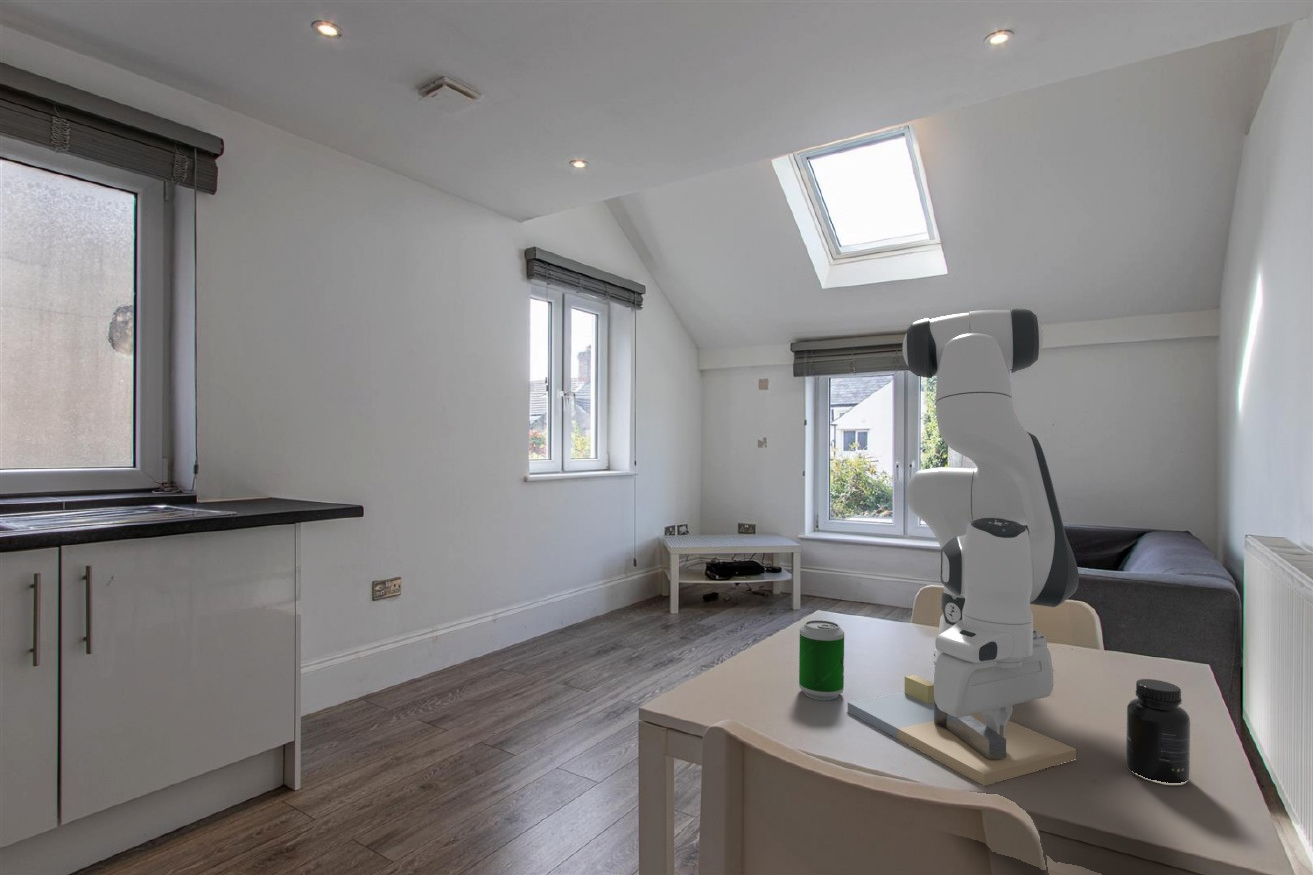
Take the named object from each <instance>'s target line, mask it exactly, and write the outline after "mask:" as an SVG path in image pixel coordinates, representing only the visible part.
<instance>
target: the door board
mask: <svg viewBox="0 0 1313 875" xmlns="http://www.w3.org/2000/svg"><path fill="white" fill-rule="evenodd" d="M847 712H848V713H850V714H851V715H853V716H855V717H856V718H859V719H860V720H862V721H865V722H866V723H868V724H870V725H872V726H874V727H876V728H877V729H879V730H881V731H883V732H885V733H887V734H888V735H890V736H892V737H894V738H895V739H897V740H900V741H901V742H903V743H905V744H906V745H909V746H910V747H912V748H914V749H916V750H918V751H919V752H922V753H923V754H925V755H927V756H929V757H930V758H932V759H934V760H936V761H937V762H939V763H941V764H943V765H945V766H947V767H948V768H951V769H952V770H953V771H956V772H958V773H959V774H962V775H963V776H965V777H966V778H969V779H970V780H973V781H974V780H975V781H974V782H976V783H978V784H980V785H982V786H984V787H986V786H989V784H990V785H992V784H993V785H994V784H996V783H995V782H997V783H1000V782H1003V780H1004V781H1006V780H1007V781H1008V780H1010V779H1014V778H1018V777H1021V776H1026V775H1028V774H1033V773H1035V772H1039V770H1040V771H1043V770H1046V769H1045V768H1047V769H1049V768H1048V767H1050V766H1054V767H1056V766H1055V765H1057V764H1061V763H1064V762H1068V761H1071V760H1074V759H1076V760H1077V748H1074V747H1071V745H1068V744H1064V743H1063V742H1060V741H1058V740H1055V739H1053V738H1050V737H1049V736H1046V735H1044V734H1042V733H1040V732H1036V731H1034V730H1033V729H1029V728H1028V727H1026V726H1025V727H1024V726H1022V725H1020V724H1018V723H1015V722H1014V721H1011V720H1010V719H1009V720H1008V722H1007V725H1006V735H1005V736H1004V738H1005V739H1006V758H997V759H988V758H987V757H986V756H984V755H983V754H982V753H980V752H979V751H977V750H976V749H975V748H973V747H972V746H971V745H969V744H968V743H967V742H965V741H964V740H962V739H961V738H960V737H958V736H957V735H956V734H954V733H953V732H952V731H950V730H949V729H947V728H945V727H942V726H939V725H937V724H936V723H935V722H934V682H932V681H929V680H927V679H925V678H923V677H920V676H919V675H915V674H911V675H905V676H904V691H900V692H895V693H889V694H883V695H879V696H873V697H867V698H863V699H858V700H853V701H847ZM971 716H972V717H974V718H975V719H977V720H978V721H980V722H981V723H983V724H984V725H986V722H985V720H984V718H983V716H982V714H981V713H976V714H972V715H971ZM1068 763H1069V762H1068ZM1061 765H1062V764H1061ZM1057 766H1058V765H1057ZM1050 768H1051V767H1050ZM1042 769H1043V770H1042Z"/></svg>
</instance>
